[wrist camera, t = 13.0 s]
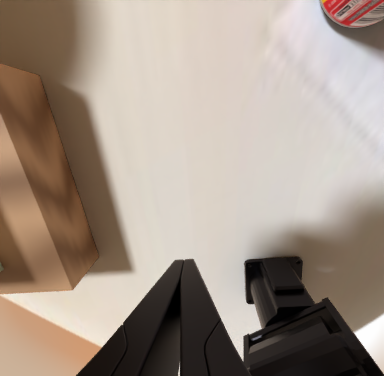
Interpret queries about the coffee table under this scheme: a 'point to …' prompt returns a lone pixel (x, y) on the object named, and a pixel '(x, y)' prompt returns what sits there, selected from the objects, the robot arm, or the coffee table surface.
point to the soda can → (354, 12)
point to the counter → (37, 195)
